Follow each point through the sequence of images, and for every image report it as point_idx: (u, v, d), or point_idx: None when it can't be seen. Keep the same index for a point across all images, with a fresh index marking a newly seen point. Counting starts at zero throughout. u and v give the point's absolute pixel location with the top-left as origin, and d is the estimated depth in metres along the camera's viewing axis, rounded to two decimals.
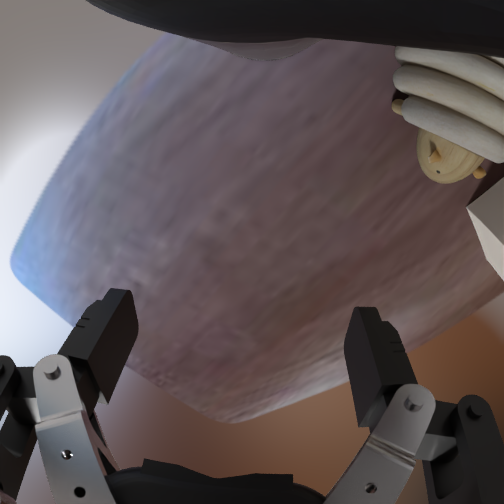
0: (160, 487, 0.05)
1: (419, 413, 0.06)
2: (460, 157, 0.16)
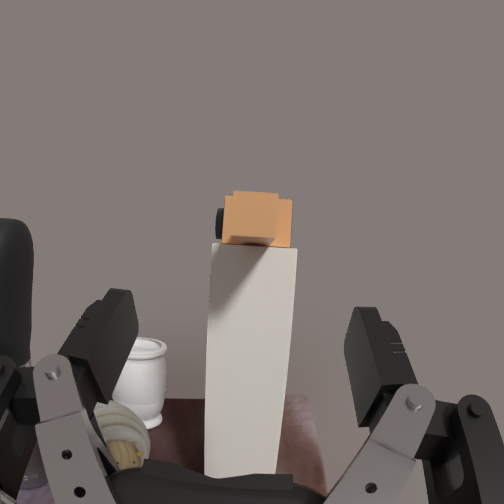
0: (160, 487, 0.05)
1: (419, 413, 0.06)
2: (114, 445, 0.29)
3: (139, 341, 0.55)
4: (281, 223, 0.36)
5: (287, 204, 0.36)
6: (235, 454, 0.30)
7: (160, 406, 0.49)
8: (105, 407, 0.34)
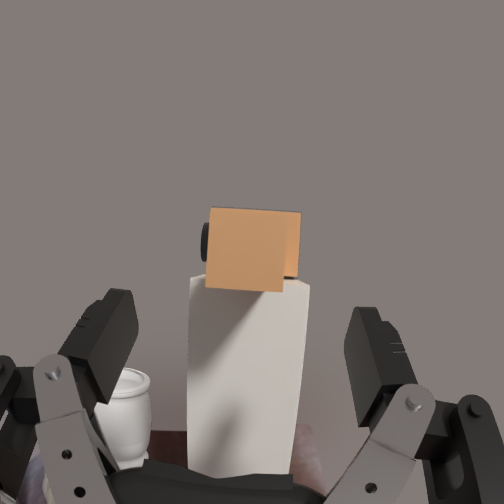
0: (160, 487, 0.05)
1: (419, 413, 0.06)
2: None
3: None
4: (286, 245, 0.27)
5: (294, 220, 0.27)
6: None
7: (144, 446, 0.40)
8: None
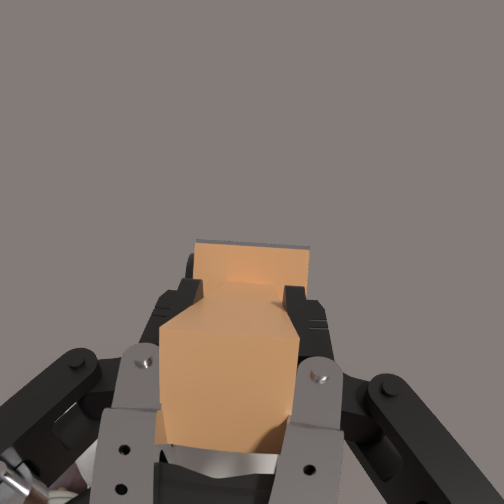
0: (160, 487, 0.05)
1: (321, 385, 0.07)
2: None
3: None
4: None
5: (300, 259, 0.21)
6: None
7: None
8: None
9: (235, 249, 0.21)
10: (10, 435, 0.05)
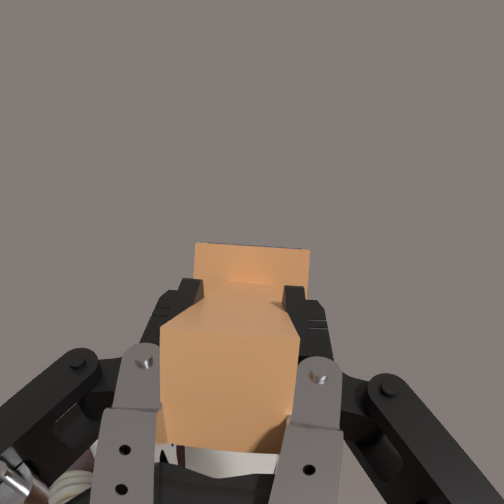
0: (160, 487, 0.05)
1: (320, 385, 0.07)
2: None
3: None
4: None
5: (301, 259, 0.21)
6: None
7: None
8: (77, 485, 0.24)
9: (236, 249, 0.21)
10: (10, 435, 0.05)
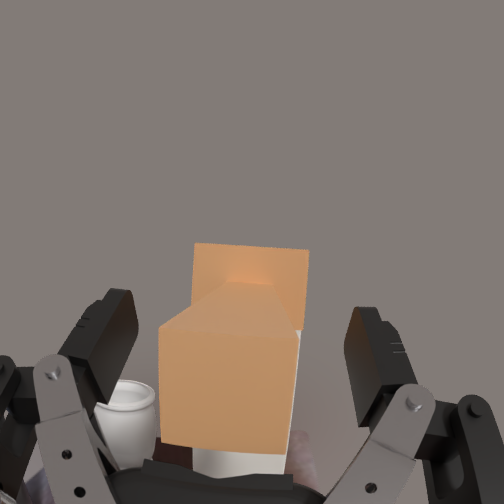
0: (160, 487, 0.05)
1: (419, 413, 0.06)
2: None
3: (126, 384, 0.48)
4: (289, 291, 0.21)
5: (300, 259, 0.21)
6: None
7: (150, 454, 0.42)
8: None
9: (235, 249, 0.21)
10: None
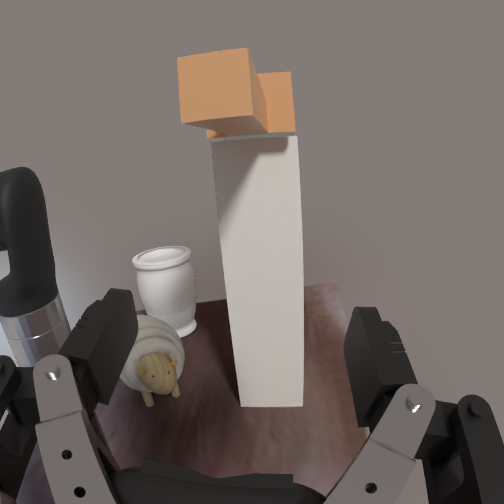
0: (160, 487, 0.05)
1: (419, 413, 0.06)
2: (148, 359, 0.36)
3: (164, 250, 0.60)
4: (280, 102, 0.25)
5: (284, 79, 0.24)
6: (262, 351, 0.36)
7: (192, 312, 0.56)
8: None
9: None
10: None
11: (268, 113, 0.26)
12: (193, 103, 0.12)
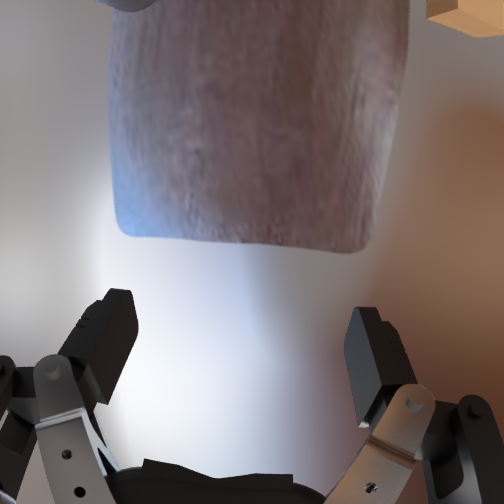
0: (160, 487, 0.05)
1: (419, 413, 0.06)
2: None
3: None
4: None
5: None
6: None
7: None
8: None
9: None
10: None
11: None
12: (444, 20, 0.09)
